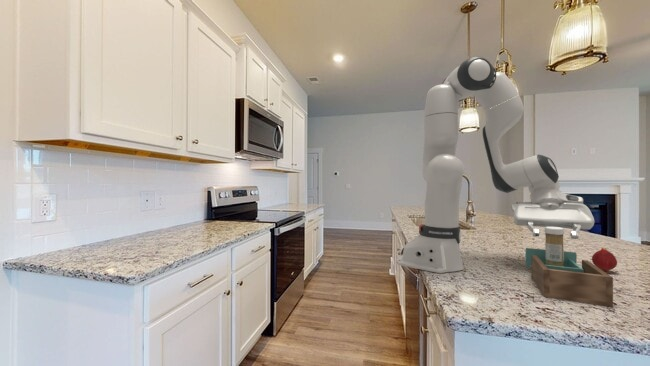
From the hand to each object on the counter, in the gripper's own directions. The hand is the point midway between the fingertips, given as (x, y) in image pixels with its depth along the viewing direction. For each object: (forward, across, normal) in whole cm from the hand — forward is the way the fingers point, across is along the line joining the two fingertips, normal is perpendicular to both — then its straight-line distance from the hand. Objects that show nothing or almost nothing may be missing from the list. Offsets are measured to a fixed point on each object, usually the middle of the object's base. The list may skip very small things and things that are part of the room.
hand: (555, 236), depth 85 cm
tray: (+8, 0, +8) cm, 11 cm away
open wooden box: (+17, 0, 0) cm, 17 cm away
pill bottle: (+8, 0, +8) cm, 11 cm away
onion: (-1, +16, +19) cm, 25 cm away
